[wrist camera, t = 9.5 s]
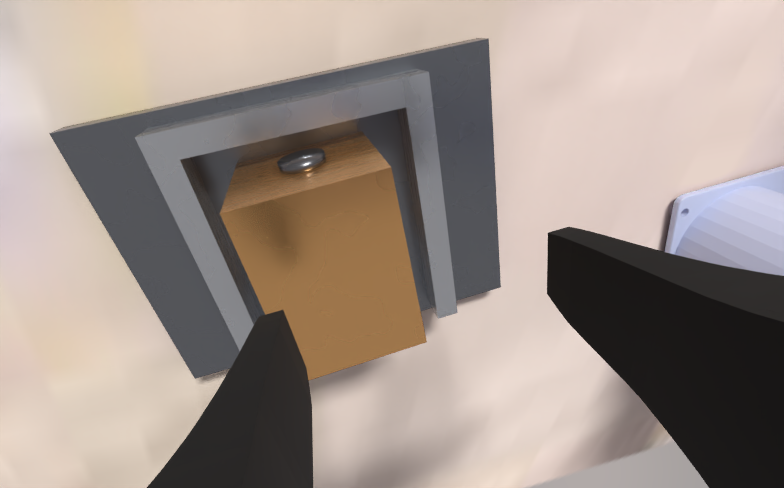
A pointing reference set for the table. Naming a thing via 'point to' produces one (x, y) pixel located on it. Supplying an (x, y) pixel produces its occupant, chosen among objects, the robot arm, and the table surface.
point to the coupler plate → (278, 134)
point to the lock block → (327, 250)
